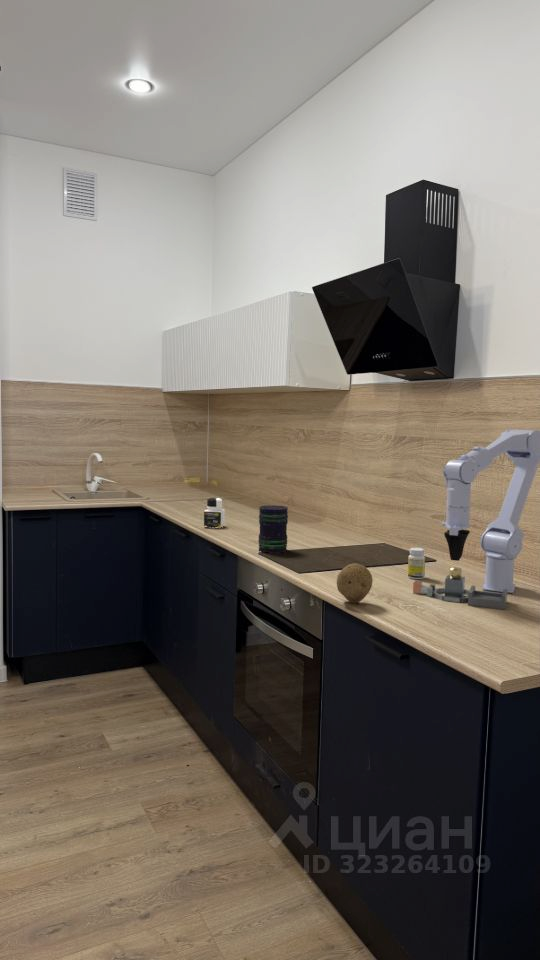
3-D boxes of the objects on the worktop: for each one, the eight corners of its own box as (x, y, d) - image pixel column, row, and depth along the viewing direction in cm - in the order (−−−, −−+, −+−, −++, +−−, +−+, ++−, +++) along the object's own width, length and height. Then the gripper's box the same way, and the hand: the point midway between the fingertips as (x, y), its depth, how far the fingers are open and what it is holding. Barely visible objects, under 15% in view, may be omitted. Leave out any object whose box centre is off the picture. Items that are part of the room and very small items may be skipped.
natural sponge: (369, 609, 165) (370, 568, 164) (332, 606, 167) (333, 566, 167) (373, 600, 174) (375, 561, 173) (338, 597, 176) (339, 558, 175)
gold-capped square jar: (446, 593, 182) (448, 565, 181) (464, 595, 180) (465, 567, 179) (444, 597, 178) (445, 569, 177) (462, 599, 176) (463, 571, 175)
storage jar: (281, 547, 242) (282, 505, 241) (291, 552, 233) (292, 508, 231) (254, 548, 239) (255, 505, 237) (263, 554, 229) (264, 509, 228)
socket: (432, 589, 186) (432, 581, 186) (477, 594, 182) (478, 586, 182) (425, 598, 177) (425, 590, 176) (473, 604, 172) (473, 596, 172)
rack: (471, 597, 178) (471, 585, 178) (506, 601, 175) (507, 589, 175) (467, 605, 171) (468, 592, 171) (504, 609, 168) (505, 596, 167)
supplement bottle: (413, 575, 203) (414, 546, 202) (427, 577, 200) (428, 549, 199) (404, 577, 200) (405, 548, 199) (418, 580, 196) (419, 551, 195)
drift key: (415, 590, 184) (415, 580, 184) (432, 592, 182) (432, 582, 182) (413, 593, 182) (413, 582, 181) (430, 595, 180) (430, 584, 180)
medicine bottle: (203, 528, 280) (203, 498, 279) (208, 525, 287) (208, 496, 286) (220, 528, 279) (221, 499, 278) (224, 526, 286) (225, 497, 285)
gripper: (446, 502, 185) (444, 552, 186) (438, 508, 172) (435, 562, 173) (473, 504, 182) (471, 555, 184) (467, 510, 169) (464, 565, 170)
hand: (455, 558), depth 178 cm, fingers open, 3 cm apart
